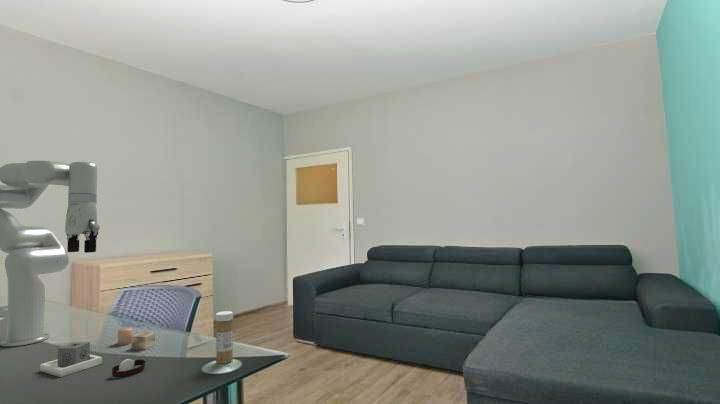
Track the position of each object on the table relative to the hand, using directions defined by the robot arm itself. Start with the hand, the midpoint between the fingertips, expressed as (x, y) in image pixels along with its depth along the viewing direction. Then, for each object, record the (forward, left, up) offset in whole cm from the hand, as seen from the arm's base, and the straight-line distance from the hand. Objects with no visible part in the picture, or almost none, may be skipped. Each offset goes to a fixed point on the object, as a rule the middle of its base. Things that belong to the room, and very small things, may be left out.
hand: (81, 252), depth 122 cm
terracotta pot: (+10, +9, -30) cm, 33 cm away
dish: (+18, -11, -30) cm, 37 cm away
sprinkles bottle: (+54, +9, -31) cm, 63 cm away
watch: (+37, -7, -31) cm, 49 cm away
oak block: (+20, +8, -31) cm, 37 cm away
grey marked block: (+18, -10, -30) cm, 36 cm away
